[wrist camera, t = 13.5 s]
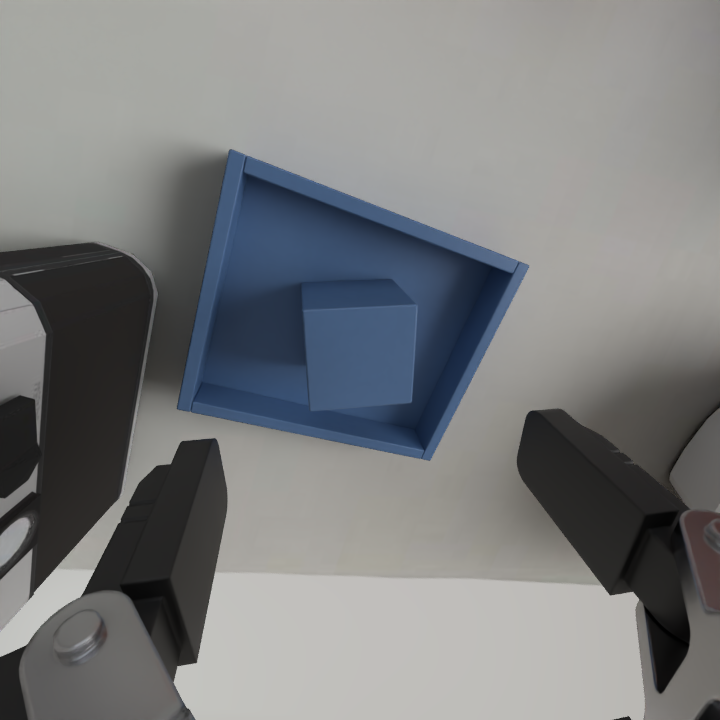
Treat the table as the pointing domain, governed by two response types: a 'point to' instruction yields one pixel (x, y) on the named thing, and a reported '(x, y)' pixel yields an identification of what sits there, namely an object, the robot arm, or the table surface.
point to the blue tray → (333, 263)
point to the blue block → (358, 343)
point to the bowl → (700, 468)
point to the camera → (65, 400)
